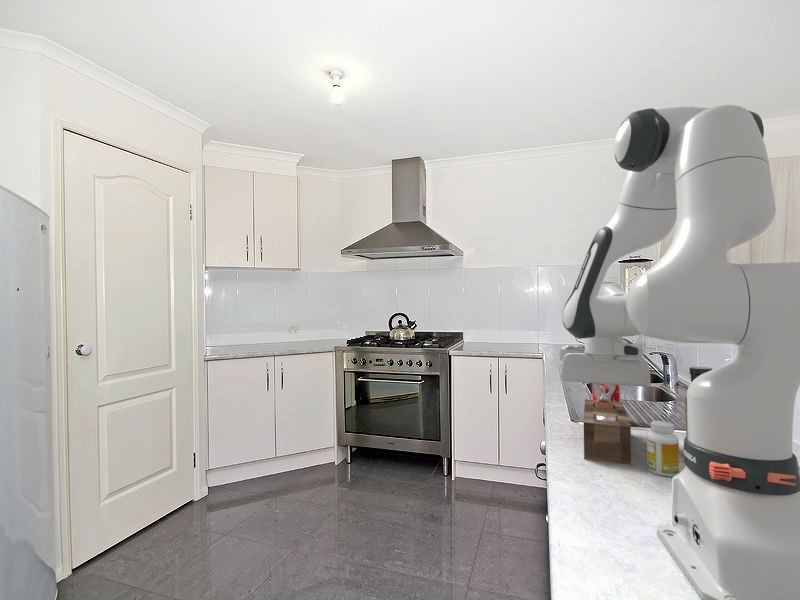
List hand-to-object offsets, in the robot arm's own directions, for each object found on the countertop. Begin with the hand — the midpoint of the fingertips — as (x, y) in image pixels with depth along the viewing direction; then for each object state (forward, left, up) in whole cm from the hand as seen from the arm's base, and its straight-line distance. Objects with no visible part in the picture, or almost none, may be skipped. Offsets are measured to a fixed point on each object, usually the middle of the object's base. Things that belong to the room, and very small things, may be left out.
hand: (604, 401), depth 104 cm
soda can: (+17, -1, -9) cm, 19 cm away
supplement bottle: (-19, -10, -9) cm, 23 cm away
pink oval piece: (0, 0, -7) cm, 7 cm away
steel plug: (-12, 0, -8) cm, 14 cm away
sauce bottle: (-8, -19, -9) cm, 23 cm away
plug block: (-6, 0, -9) cm, 11 cm away
